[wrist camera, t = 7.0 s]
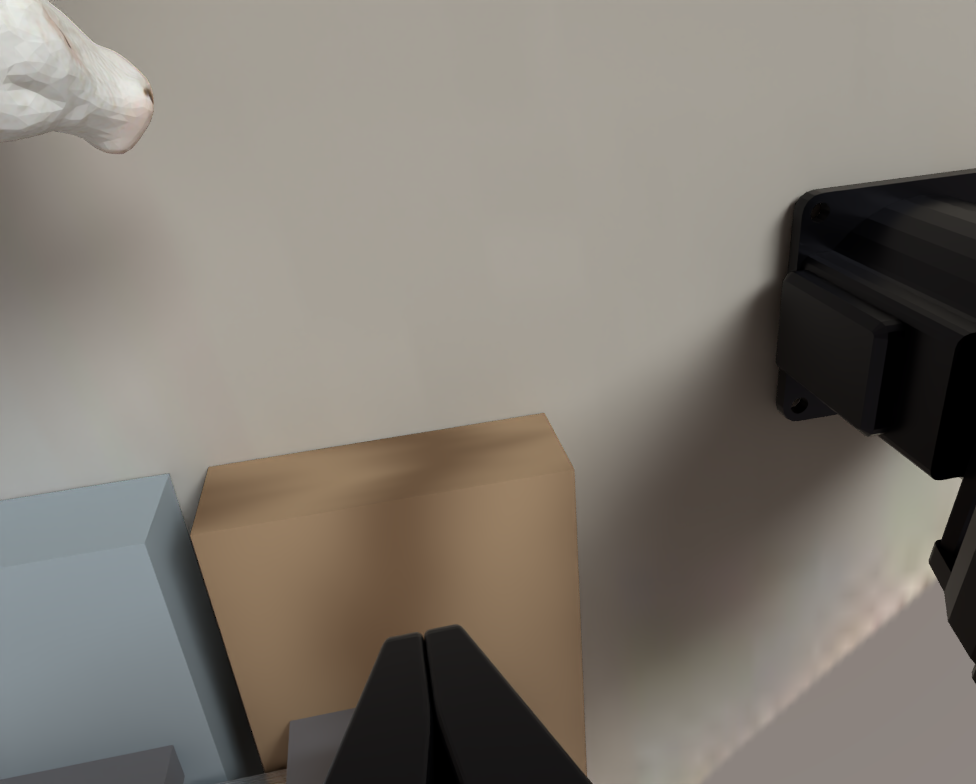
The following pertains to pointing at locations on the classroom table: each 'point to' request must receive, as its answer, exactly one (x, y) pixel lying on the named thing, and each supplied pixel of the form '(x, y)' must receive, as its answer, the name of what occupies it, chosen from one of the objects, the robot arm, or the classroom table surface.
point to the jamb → (393, 574)
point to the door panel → (112, 645)
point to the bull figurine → (66, 81)
